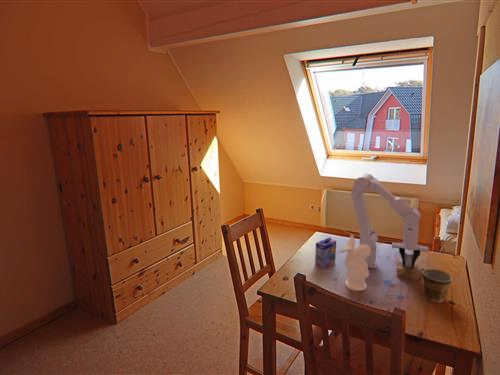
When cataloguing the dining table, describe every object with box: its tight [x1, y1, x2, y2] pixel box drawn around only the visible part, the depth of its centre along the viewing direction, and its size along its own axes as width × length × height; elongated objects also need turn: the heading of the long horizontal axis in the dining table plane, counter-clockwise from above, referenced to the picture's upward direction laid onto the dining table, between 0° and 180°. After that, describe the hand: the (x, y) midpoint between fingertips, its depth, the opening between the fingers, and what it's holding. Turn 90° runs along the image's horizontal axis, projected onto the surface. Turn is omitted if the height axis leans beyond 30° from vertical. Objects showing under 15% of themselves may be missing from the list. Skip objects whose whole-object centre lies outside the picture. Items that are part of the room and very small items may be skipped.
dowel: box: [404, 252, 413, 268], centre depth 144 cm, size 3×3×8 cm
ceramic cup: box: [420, 268, 453, 303], centre depth 127 cm, size 13×10×10 cm
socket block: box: [396, 259, 421, 281], centre depth 145 cm, size 9×9×4 cm
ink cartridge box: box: [314, 237, 337, 270], centre depth 155 cm, size 10×6×14 cm, turn 129°
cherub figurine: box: [339, 233, 371, 292], centre depth 134 cm, size 12×12×22 cm
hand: (408, 264), depth 144 cm, fingers closed on dowel, 3 cm apart
